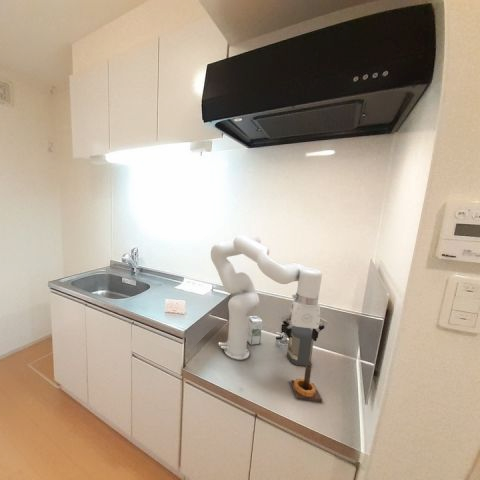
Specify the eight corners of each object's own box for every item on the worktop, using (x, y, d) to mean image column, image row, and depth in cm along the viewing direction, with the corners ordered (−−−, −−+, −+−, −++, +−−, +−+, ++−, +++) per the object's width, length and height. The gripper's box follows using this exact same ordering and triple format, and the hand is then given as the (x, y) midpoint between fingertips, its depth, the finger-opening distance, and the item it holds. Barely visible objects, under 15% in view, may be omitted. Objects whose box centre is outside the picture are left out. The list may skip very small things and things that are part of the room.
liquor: (303, 355, 131) (310, 301, 126) (312, 367, 122) (320, 309, 117) (285, 354, 132) (291, 300, 127) (292, 365, 123) (299, 308, 118)
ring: (299, 396, 103) (299, 391, 102) (291, 382, 110) (291, 378, 110) (318, 397, 102) (319, 392, 102) (309, 383, 110) (309, 379, 109)
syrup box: (254, 338, 146) (256, 315, 143) (260, 344, 140) (262, 320, 138) (245, 339, 145) (247, 315, 142) (250, 345, 139) (252, 321, 137)
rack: (297, 398, 103) (300, 369, 101) (290, 382, 112) (293, 355, 109) (321, 402, 102) (325, 372, 99) (312, 386, 110) (316, 358, 108)
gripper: (286, 300, 99) (280, 339, 102) (335, 305, 95) (328, 346, 99) (281, 292, 106) (276, 330, 109) (326, 297, 102) (320, 335, 106)
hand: (300, 337), depth 104 cm, fingers open, 9 cm apart
